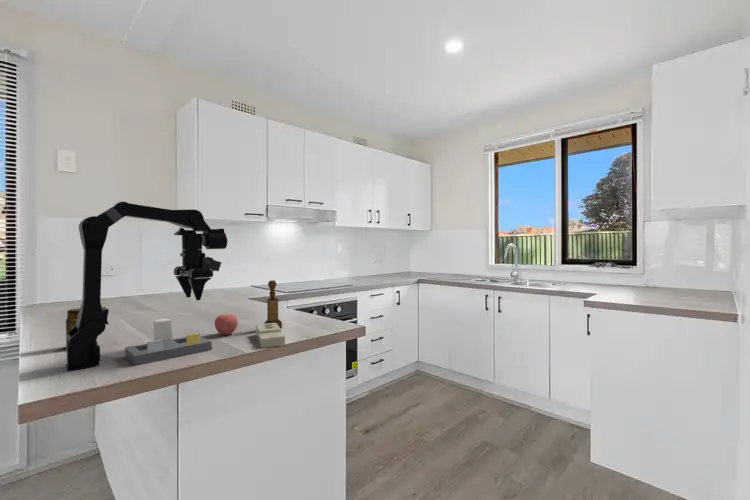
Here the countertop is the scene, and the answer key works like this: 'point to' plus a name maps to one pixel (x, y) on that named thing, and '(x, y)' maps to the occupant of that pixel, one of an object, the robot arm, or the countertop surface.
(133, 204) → the robot arm
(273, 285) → the wooden pepper mill
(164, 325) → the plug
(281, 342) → the electrical outlet
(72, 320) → the condiment
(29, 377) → the countertop surface
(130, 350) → the socket plate
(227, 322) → the apple
